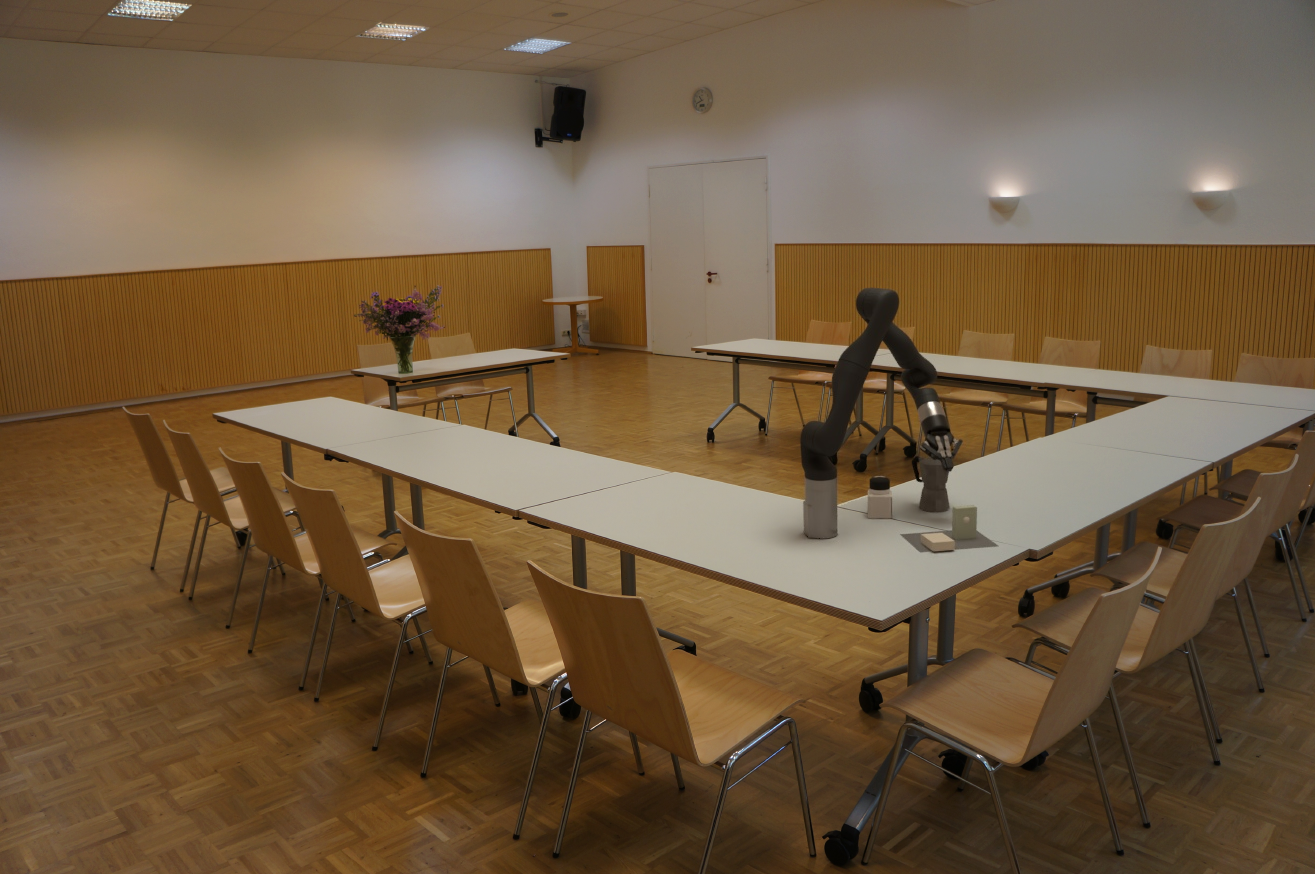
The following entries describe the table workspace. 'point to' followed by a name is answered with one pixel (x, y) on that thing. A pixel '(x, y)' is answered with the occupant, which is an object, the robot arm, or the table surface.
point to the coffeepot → (932, 484)
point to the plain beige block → (937, 542)
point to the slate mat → (959, 544)
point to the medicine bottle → (880, 498)
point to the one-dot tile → (964, 522)
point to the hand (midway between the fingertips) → (949, 470)
